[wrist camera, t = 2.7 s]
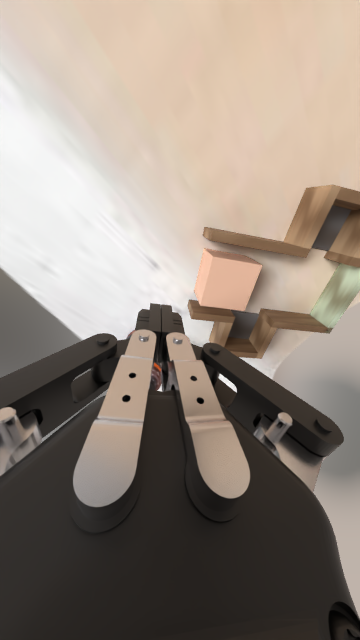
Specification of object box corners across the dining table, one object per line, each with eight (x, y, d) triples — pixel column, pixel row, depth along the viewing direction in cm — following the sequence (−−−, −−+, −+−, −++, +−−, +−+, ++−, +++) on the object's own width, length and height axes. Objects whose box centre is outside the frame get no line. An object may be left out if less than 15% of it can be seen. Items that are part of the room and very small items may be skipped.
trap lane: (217, 166, 20) (229, 157, 17) (380, 207, 24) (417, 207, 20) (180, 337, 32) (183, 352, 28) (294, 347, 35) (309, 362, 32)
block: (203, 248, 25) (213, 256, 20) (245, 255, 26) (262, 265, 21) (193, 290, 28) (200, 305, 23) (231, 295, 29) (244, 311, 24)
